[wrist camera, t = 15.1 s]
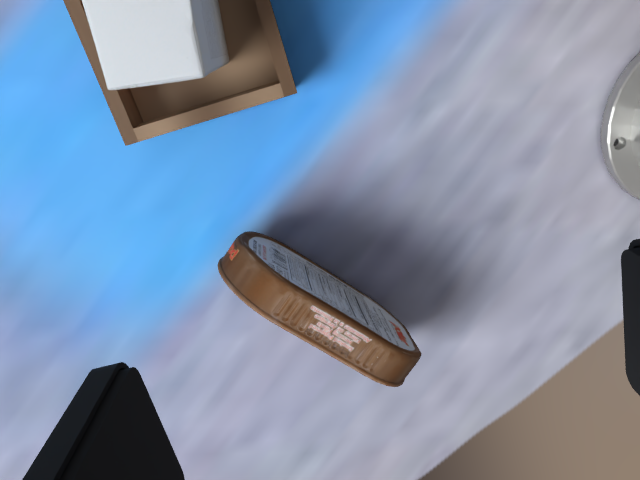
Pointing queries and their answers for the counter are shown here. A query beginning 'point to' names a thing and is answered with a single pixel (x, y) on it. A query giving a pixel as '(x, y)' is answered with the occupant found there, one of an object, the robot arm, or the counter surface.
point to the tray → (204, 93)
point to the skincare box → (156, 40)
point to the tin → (318, 308)
